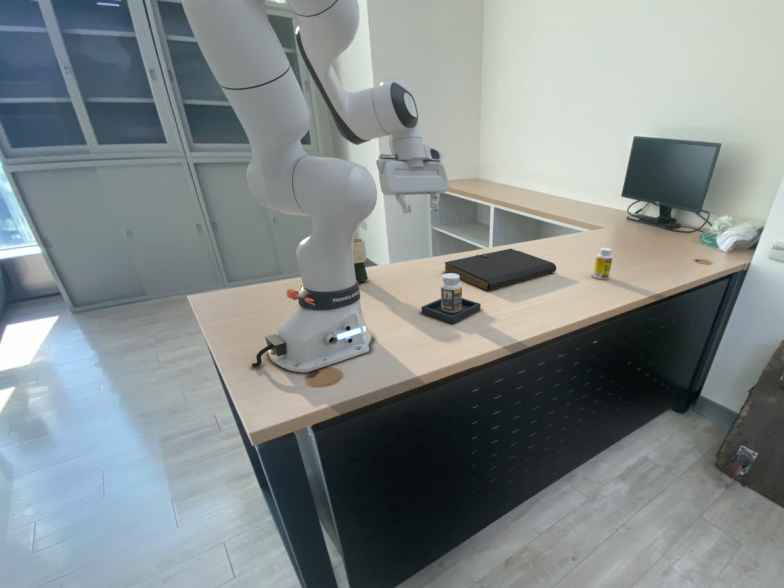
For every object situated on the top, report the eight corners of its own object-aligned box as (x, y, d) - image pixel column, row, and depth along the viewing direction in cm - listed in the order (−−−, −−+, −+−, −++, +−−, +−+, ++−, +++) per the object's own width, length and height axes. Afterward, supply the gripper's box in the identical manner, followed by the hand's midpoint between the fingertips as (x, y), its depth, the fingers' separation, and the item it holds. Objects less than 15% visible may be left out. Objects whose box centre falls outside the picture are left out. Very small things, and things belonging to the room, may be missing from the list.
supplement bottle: (602, 281, 144) (608, 252, 139) (590, 276, 147) (594, 248, 142) (611, 278, 147) (617, 249, 142) (598, 274, 151) (603, 246, 145)
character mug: (339, 278, 132) (332, 238, 125) (359, 274, 137) (354, 235, 130) (356, 288, 126) (350, 245, 119) (376, 283, 131) (372, 242, 124)
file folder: (510, 247, 161) (557, 263, 147) (509, 257, 163) (555, 274, 149) (443, 260, 141) (489, 280, 127) (443, 272, 143) (489, 293, 129)
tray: (452, 324, 107) (452, 317, 106) (421, 313, 112) (421, 306, 111) (480, 310, 116) (480, 303, 115) (450, 300, 121) (450, 294, 120)
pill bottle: (458, 315, 111) (458, 280, 106) (438, 312, 112) (437, 277, 107) (464, 307, 116) (464, 273, 111) (445, 305, 117) (444, 271, 112)
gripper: (381, 149, 95) (396, 211, 99) (446, 153, 109) (456, 207, 113) (368, 157, 99) (382, 216, 103) (431, 159, 113) (442, 212, 117)
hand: (421, 211), depth 108 cm, fingers open, 8 cm apart
